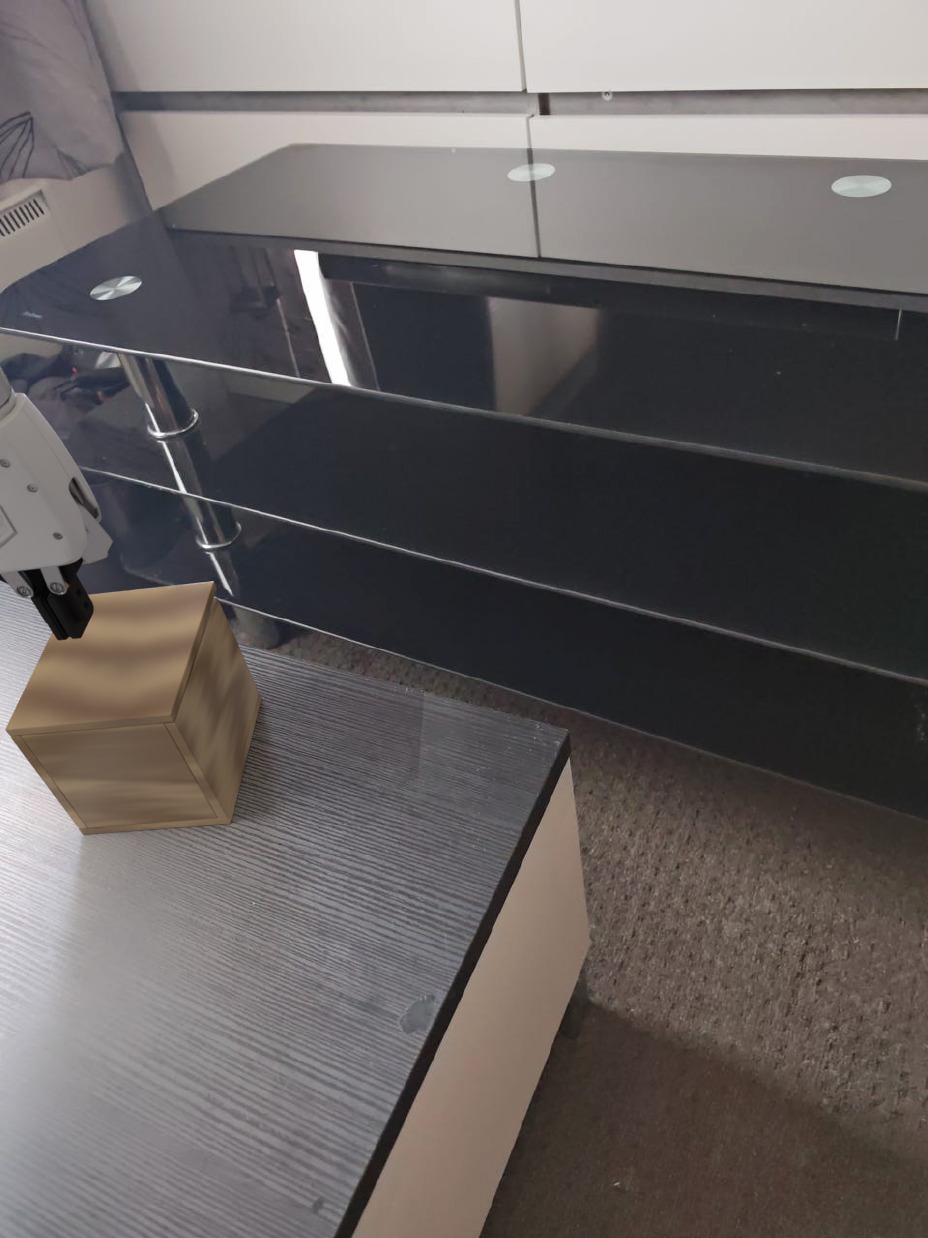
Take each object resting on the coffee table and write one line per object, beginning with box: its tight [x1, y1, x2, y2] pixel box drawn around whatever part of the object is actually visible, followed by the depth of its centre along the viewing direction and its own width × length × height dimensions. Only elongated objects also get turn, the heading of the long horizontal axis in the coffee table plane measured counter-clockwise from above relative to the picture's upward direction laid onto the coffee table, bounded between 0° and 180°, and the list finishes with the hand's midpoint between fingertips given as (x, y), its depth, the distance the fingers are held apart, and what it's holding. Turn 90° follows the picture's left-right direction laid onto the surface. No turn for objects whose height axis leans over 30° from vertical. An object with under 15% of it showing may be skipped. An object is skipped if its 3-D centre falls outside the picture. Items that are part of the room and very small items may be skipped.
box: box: [10, 596, 263, 835], centre depth 75 cm, size 14×13×12 cm
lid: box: [4, 580, 217, 737], centre depth 71 cm, size 14×13×1 cm
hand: (76, 625), depth 65 cm, fingers closed
